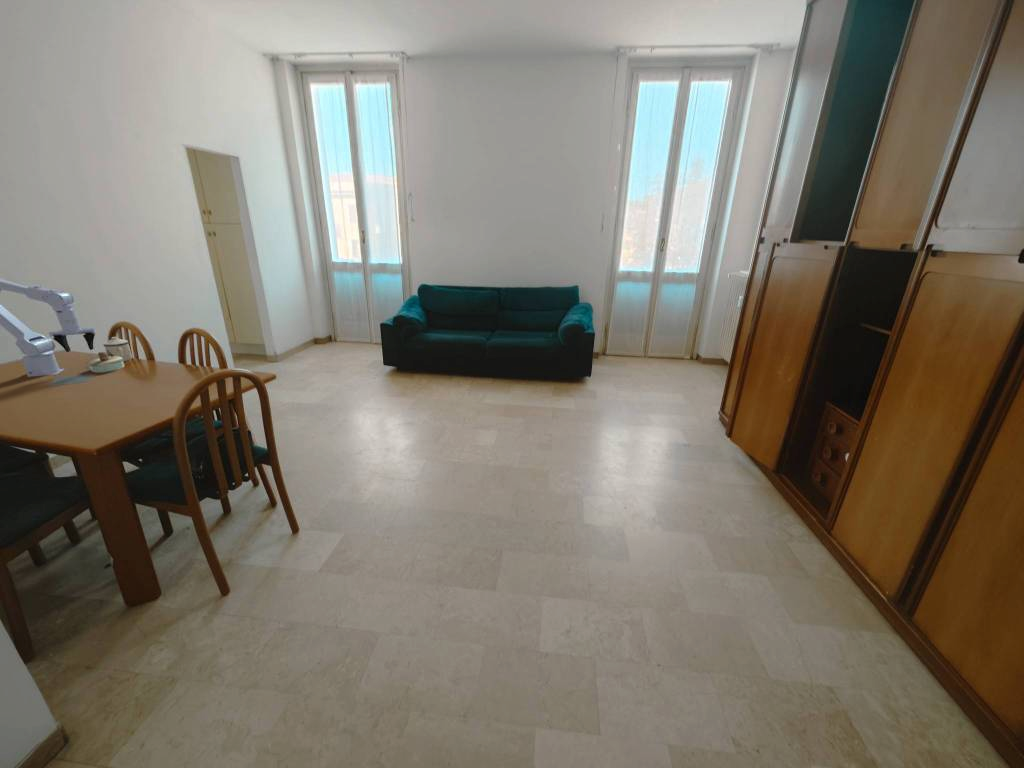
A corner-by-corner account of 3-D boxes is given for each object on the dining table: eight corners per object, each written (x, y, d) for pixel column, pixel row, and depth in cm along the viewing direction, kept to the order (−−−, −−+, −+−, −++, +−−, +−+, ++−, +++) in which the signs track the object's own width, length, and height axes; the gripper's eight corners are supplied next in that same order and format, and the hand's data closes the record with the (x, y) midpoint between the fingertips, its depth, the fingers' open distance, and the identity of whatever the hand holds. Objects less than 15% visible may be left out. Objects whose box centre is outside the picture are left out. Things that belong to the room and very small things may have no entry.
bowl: (88, 374, 180) (84, 366, 178) (97, 367, 189) (94, 359, 187) (120, 371, 185) (117, 363, 183) (127, 364, 194) (125, 356, 192)
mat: (46, 387, 165) (46, 386, 165) (60, 378, 175) (59, 377, 175) (86, 383, 170) (85, 382, 170) (97, 374, 180) (96, 373, 180)
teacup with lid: (107, 359, 200) (99, 337, 195) (131, 356, 206) (124, 334, 202) (112, 365, 193) (104, 341, 189) (137, 360, 199) (129, 338, 195)
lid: (81, 367, 177) (77, 357, 176) (94, 359, 188) (91, 350, 186) (116, 364, 182) (113, 355, 180) (127, 356, 192) (124, 348, 191)
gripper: (40, 323, 168) (53, 354, 173) (87, 320, 174) (98, 350, 179) (48, 320, 174) (61, 350, 179) (93, 317, 180) (104, 346, 185)
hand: (80, 350), depth 179 cm, fingers open, 7 cm apart
